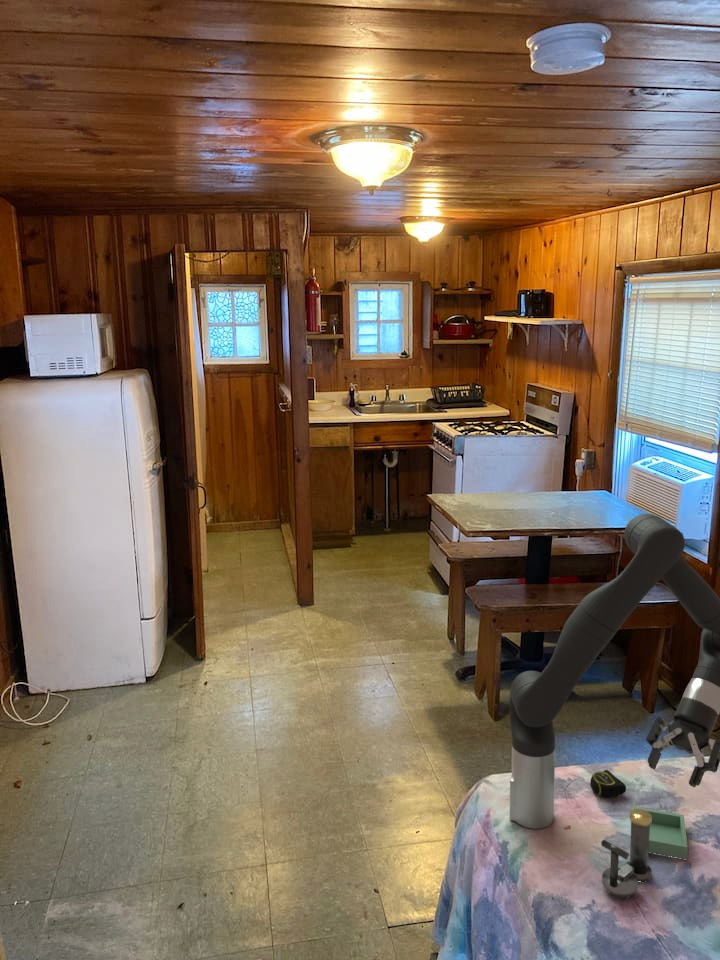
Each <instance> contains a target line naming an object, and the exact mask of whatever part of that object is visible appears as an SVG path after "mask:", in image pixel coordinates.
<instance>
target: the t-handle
mask: <svg viewBox="0 0 720 960" xmlns="http://www.w3.org/2000/svg"><path fill="white" fill-rule="evenodd" d="M600 845H601V847H603V848H604V849H607V850H609V851H610V867H609V868H606V869H604V871H603V872H602V875H601V883H602V886H603V888H604V889H605V890H606V891H607V892H610V893H609V894H610V895H611V896H612V897H614V898H616V899H618V898H619V899H620V900H626V899H628V898H630V897H632V896H634V895H635V894H636V893H637V891H638V883H639V882H638V881H637V879H636V877H635V876H634V875H633V874H632V873H633V872H634V868H633V867H632V866H630V865H628V864H626V863H625V865H624V866H623V867H619V859H620V858H619V857H621V858H622V859H625V860H627V859H628V858H630V852H627V851H626V850H624V849H622V848H620V847H618V846H617V845H614V844H613V843H611V842H609V841H607V840H605V839H603V840H602V841H601V844H600ZM619 899H618V900H619Z"/></svg>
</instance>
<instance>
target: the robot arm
mask: <svg viewBox="0 0 720 960" xmlns="http://www.w3.org/2000/svg"><path fill="white" fill-rule="evenodd" d="M624 540H625V541H624V542H625V543H626V546H627V547H628V549H629V550H630V552H631V553H632V554H634V556H633V558H632V559H631V560H630V562H629V563H628V564H627V565H626V567H625V568H624V570H622V571H621V573H619V575H617V576H616V577H615V578H614V579H612V580H611V581H609V582H607V583H605V584H603V585H602V586H600V587H598V588H596V589H595V590H593V591H591V592H590V593H588V594H587V595H586V596H585V597H584V598H583V599H582V600H581V601H580V602H579V603H578V605H577V606H576V608H574V610H573V611H572V613H571V614H570V615H569V617H568V619H567V620H566V622H565V623H564V626H563V628H562V630H561V632H560V635H559V637H558V639H557V643H556V646H555V648H554V651H553V654H552V656H551V658H550V659H549V662H548V663H547V665H546V666H545V667H544V669H543V670H542V671H541V672H540V671H537V670H527V671H526V670H525V671H523V672H521V673H519V674H517V676H516V677H515V678H514V679H513V681H512V683H511V687H510V691H509V715H510V716H509V721H510V722H509V723H510V733H511V776H510V781H509V820H510V821H513V822H515V823H517V824H518V825H520V826H522V827H525V828H529V829H534V830H535V829H536V830H538V829H544V828H546V827H549V826H550V825H551V824H552V823H553V822H554V819H555V818H554V817H555V816H554V814H555V769H556V766H555V765H556V735H555V729H554V719H556V718H557V716H558V714H559V713H560V712H561V710H562V708H563V707H564V705H565V703H566V702H567V701H568V698H569V697H570V695H571V693H572V692H573V691H574V688H575V687H576V685H577V684H578V683H579V681H580V680H581V678H582V677H583V676H584V674H585V673H586V672H587V671H588V669H589V668H590V667H591V666H592V664H593V663H594V662H595V660H596V659H597V658H598V656H599V655H600V654H601V653H602V651H603V650H604V649H605V648H606V646H607V645H609V643H610V642H611V640H612V639H613V638H614V637H615V635H616V634H617V632H618V631H619V630H620V628H621V627H622V626H623V624H624V623H625V622H626V620H627V619H628V618H629V617H630V615H631V614H632V613H633V611H634V610H635V609H636V608H637V607H638V605H639V604H640V603H641V602H642V601H643V599H644V598H645V597H646V595H647V594H648V593H649V592H650V591H651V590H652V589H653V588H654V586H656V585H657V583H658V582H659V581H661V580H662V581H663V582H664V584H666V586H667V587H668V588H669V590H670V591H671V592H672V594H673V595H674V596H675V598H676V599H677V600H678V602H679V604H680V605H681V606H682V607H683V608H684V610H685V611H686V613H687V614H688V615H689V616H690V617H691V619H692V620H693V621H694V622H695V624H697V626H699V627H700V628H701V629H702V631H701V635H700V643H699V644H700V645H699V655H698V662H697V663H698V664H697V665H696V667H695V669H694V672H693V675H692V677H691V679H690V681H689V682H688V684H687V686H686V688H685V690H684V692H683V695H682V697H681V700H680V702H679V704H678V706H677V708H676V711H675V714H674V717H673V719H672V721H671V722H668V721H666V720H664V719H663V718H662V717H661V716H657V717H655V720H654V721H653V723H652V726H651V728H650V729H649V732H648V734H647V736H646V738H645V741H646V742H647V744H648V745H650V746H651V751H650V753H649V756H648V758H647V763H648V767H649V768H650V769H652V770H656V768H657V765H658V763H659V761H660V758H661V756H662V752H664V751H666V750H669V749H671V748H673V747H675V748H676V749H679V750H681V751H685V753H688V754H690V755H692V754H693V755H694V758H695V760H696V761H695V762H696V764H697V765H695V766H694V768H693V771H692V772H691V775H690V778H689V780H688V785H689V786H690V787H692V788H696V787H698V786H700V785H701V782H702V781H703V778H704V777H703V776H704V775H705V773H706V772H712V773H716V772H717V771H718V769H719V766H720V739H712V738H711V736H712V733H713V731H714V728H715V726H716V722H717V721H718V718H719V715H720V597H719V596H718V595H717V593H716V592H715V590H714V589H713V588H712V587H711V586H710V584H709V583H707V581H706V580H705V579H704V578H703V577H702V576H701V574H699V573H698V572H697V571H696V570H695V569H694V568H693V567H692V566H691V565H690V564H689V562H687V561H686V560H685V558H684V557H683V556H682V554H683V552H684V550H685V546H686V543H685V542H686V541H685V536H684V535H683V533H682V532H681V531H680V530H679V529H678V528H677V527H675V526H673V524H671V523H669V522H668V521H666V520H665V519H664V518H661V516H657V515H655V514H652V513H651V514H650V513H641V514H638V515H636V516H634V517H632V518H631V519H630V520H629V521H628V523H627V524H626V526H625V529H624ZM666 729H668V733H667V734H666V735H664V736H662V737H661V738H660V736H661V735H662V733H663V732H664V731H666ZM659 738H660V739H659ZM709 745H710V747H709V749H711V753H710V754H709V755H710V756H709V757H708V758H709V759H708V761H706V760H705V755H704V752H703V749H704V748H706V747H708V746H709Z"/></svg>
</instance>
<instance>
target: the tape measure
mask: <svg viewBox="0 0 720 960" xmlns="http://www.w3.org/2000/svg"><path fill="white" fill-rule="evenodd" d="M589 785H590V788H591V790H592V792H593V793H595V794H596V795H597V796H599V797H601V798H605V799H614V798H617V797H618V796H620V795H621V796H622V795H624V794H626V791H627V786H626V784H625V783H624V782H623V781H621V780H620V779H619V778H618V777H616V776H615V775H614V774H613V773H612V772H611V771H609V770H608V769H605V770H603V771H596V772H595V773H593V774H592V775H591V778H590V780H589Z"/></svg>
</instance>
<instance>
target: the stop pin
mask: <svg viewBox="0 0 720 960" xmlns="http://www.w3.org/2000/svg"><path fill="white" fill-rule="evenodd" d="M629 820H630V842H629V843H630V844H629V861H627V862H626V863H625V865H626V864H628V865H630V866H632V867H633V868H634V872H633V873H632V874H633V875H634V876H635V877H636V879H637V881H641V882H645V881H648V880H649V879H650V878H651V879H652V868H651V866H650V865H649V855H650V854H649V835H650V825H651V824H652V816H651V814H650V813H649V812H647V811H645V810H642V809H634V810H632V811H631V810H630V813H629ZM651 879H650V880H651ZM650 880H649V881H650ZM649 881H648V882H649ZM645 883H646V882H645Z"/></svg>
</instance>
